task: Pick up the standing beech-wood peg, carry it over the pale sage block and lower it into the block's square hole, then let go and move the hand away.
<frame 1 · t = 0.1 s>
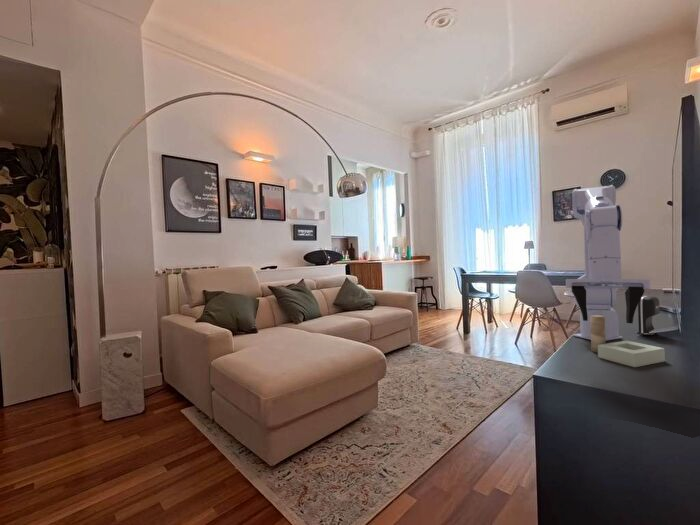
hand: (606, 321, 72), 11 cm above the tv stand, tool pointing down, fingers open, 7 cm apart
peg: (598, 351, 86), on the tv stand
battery: (649, 335, 100), on the tv stand
hole block: (630, 359, 79), on the tv stand
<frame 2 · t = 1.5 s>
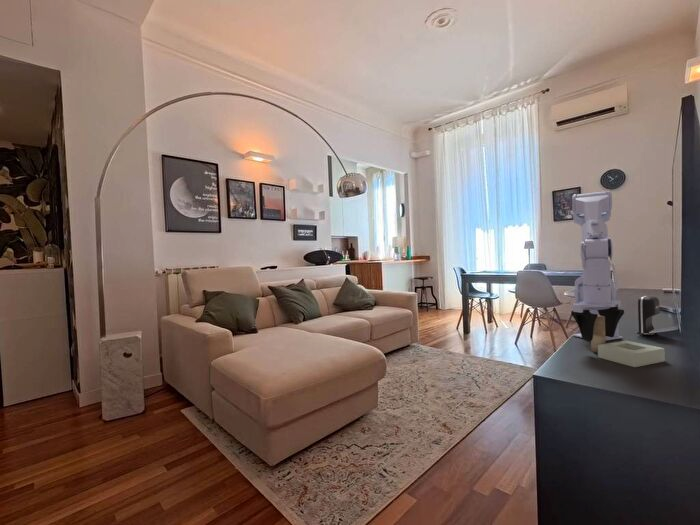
hand: (598, 337, 86), 3 cm above the tv stand, tool pointing down, fingers open, 7 cm apart
nothing on the tv stand moved.
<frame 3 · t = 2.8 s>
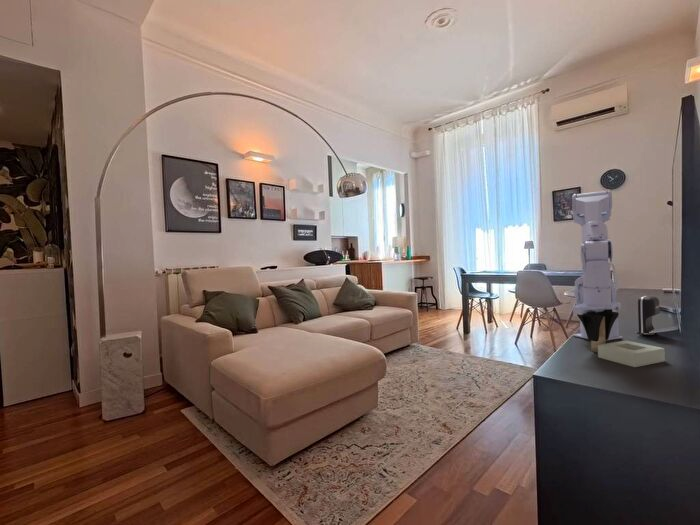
hand: (598, 339, 86), 3 cm above the tv stand, tool pointing down, fingers closed on peg, 3 cm apart
peg: (598, 351, 86), on the tv stand, touching gripper
everything else where it was.
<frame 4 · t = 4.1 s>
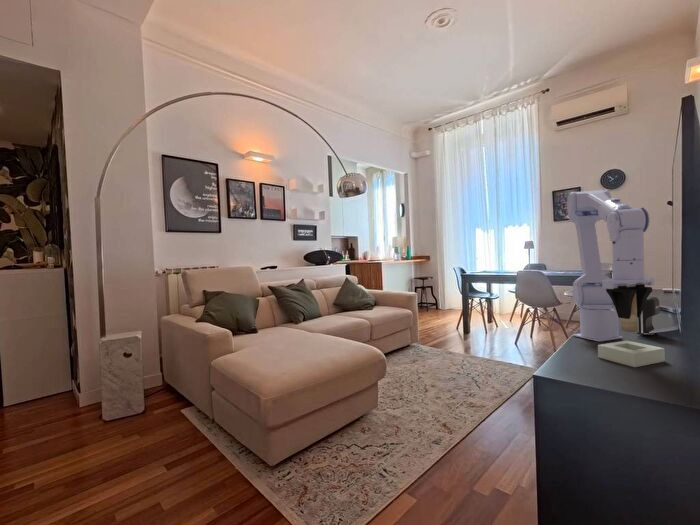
hand: (629, 317, 79), 10 cm above the tv stand, tool pointing down, fingers closed on peg, 3 cm apart
peg: (629, 330, 79), point 7 cm above the tv stand, touching gripper
everything else where it was.
when the fingers open (4 cm above the tv stand, at t = 5.8 s): peg drops 1 cm, resting in hole block.
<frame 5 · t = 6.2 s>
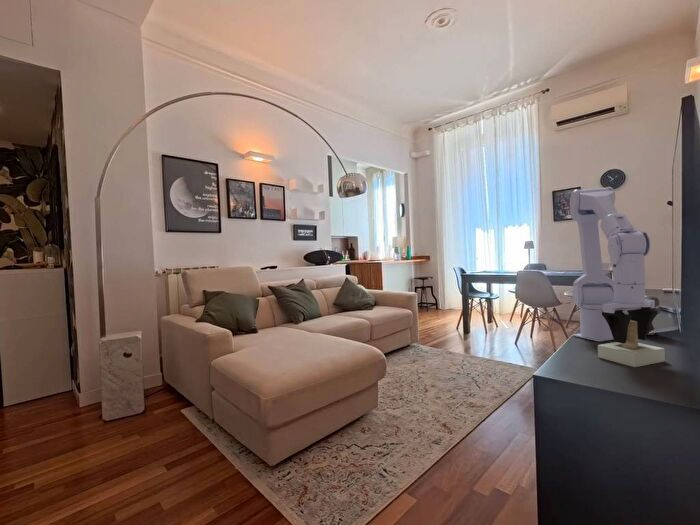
hand: (630, 340, 79), 4 cm above the tv stand, tool pointing down, fingers open, 6 cm apart
peg: (630, 359, 79), resting in hole block
everything else where it was.
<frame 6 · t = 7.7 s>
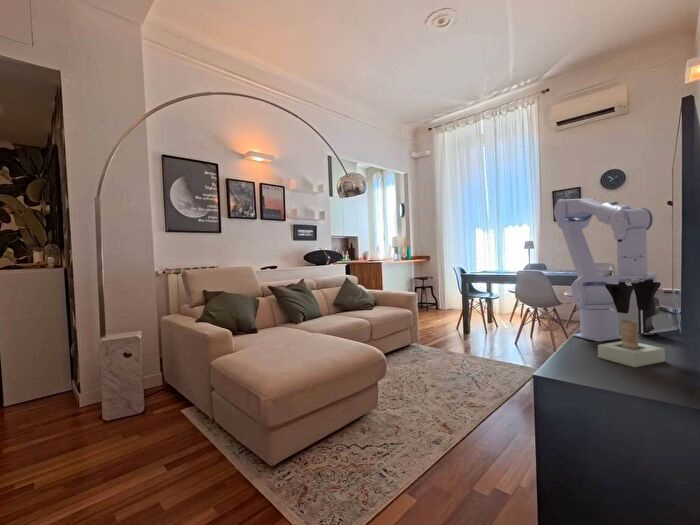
hand: (633, 311, 84), 10 cm above the tv stand, tool pointing down, fingers open, 7 cm apart
nothing on the tv stand moved.
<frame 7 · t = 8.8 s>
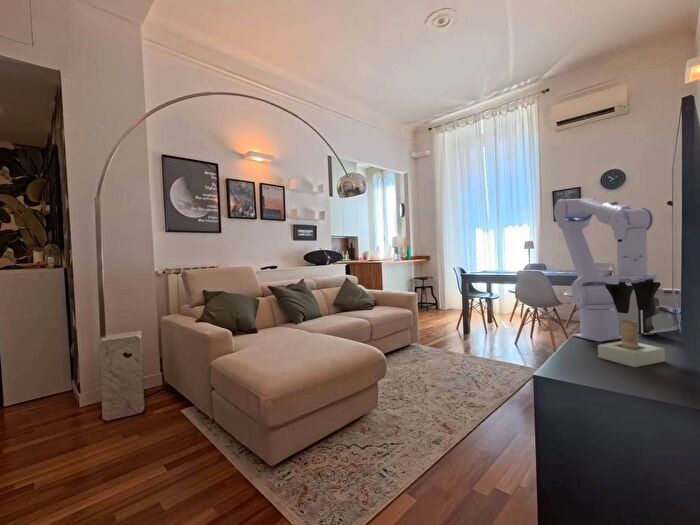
hand: (633, 311, 84), 10 cm above the tv stand, tool pointing down, fingers open, 7 cm apart
nothing on the tv stand moved.
at the end: peg 0.0 cm off-centre on the hole block, point 0.0 cm above the hole block's base; peg tilted 0°; the gripper is holding nothing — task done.
